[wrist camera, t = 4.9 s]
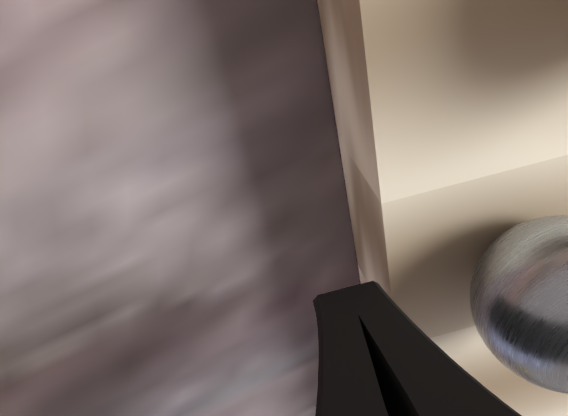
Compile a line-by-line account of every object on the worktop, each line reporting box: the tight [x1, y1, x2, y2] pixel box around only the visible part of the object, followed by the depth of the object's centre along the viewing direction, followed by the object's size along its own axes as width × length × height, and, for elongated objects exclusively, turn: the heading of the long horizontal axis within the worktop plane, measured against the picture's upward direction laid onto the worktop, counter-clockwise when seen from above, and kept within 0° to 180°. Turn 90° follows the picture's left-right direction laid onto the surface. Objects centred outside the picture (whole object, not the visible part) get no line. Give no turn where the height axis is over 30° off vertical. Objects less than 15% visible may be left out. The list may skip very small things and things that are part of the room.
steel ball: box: [470, 215, 568, 394], centre depth 9 cm, size 4×4×4 cm
